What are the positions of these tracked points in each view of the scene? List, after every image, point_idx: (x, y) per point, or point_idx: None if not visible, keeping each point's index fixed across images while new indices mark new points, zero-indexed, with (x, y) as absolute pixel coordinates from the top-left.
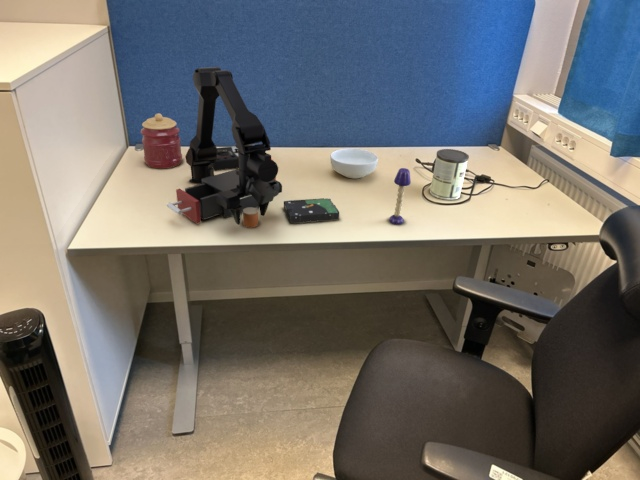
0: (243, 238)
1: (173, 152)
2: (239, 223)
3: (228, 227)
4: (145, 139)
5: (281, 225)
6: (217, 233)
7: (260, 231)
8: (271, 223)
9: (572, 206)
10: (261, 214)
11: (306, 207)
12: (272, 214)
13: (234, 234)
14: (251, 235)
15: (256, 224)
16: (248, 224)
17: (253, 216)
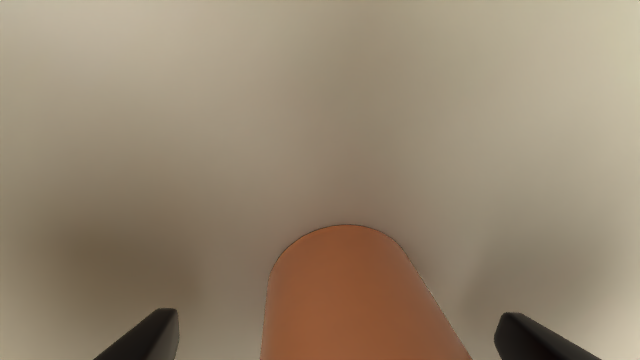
0: (607, 125)
1: None
2: (530, 322)
3: None
4: None
5: (64, 31)
6: (628, 324)
7: (385, 111)
8: (153, 165)
9: None
10: (173, 342)
11: None
12: (15, 305)
13: (580, 236)
14: (514, 114)
15: (334, 235)
16: (418, 274)
17: (420, 326)
